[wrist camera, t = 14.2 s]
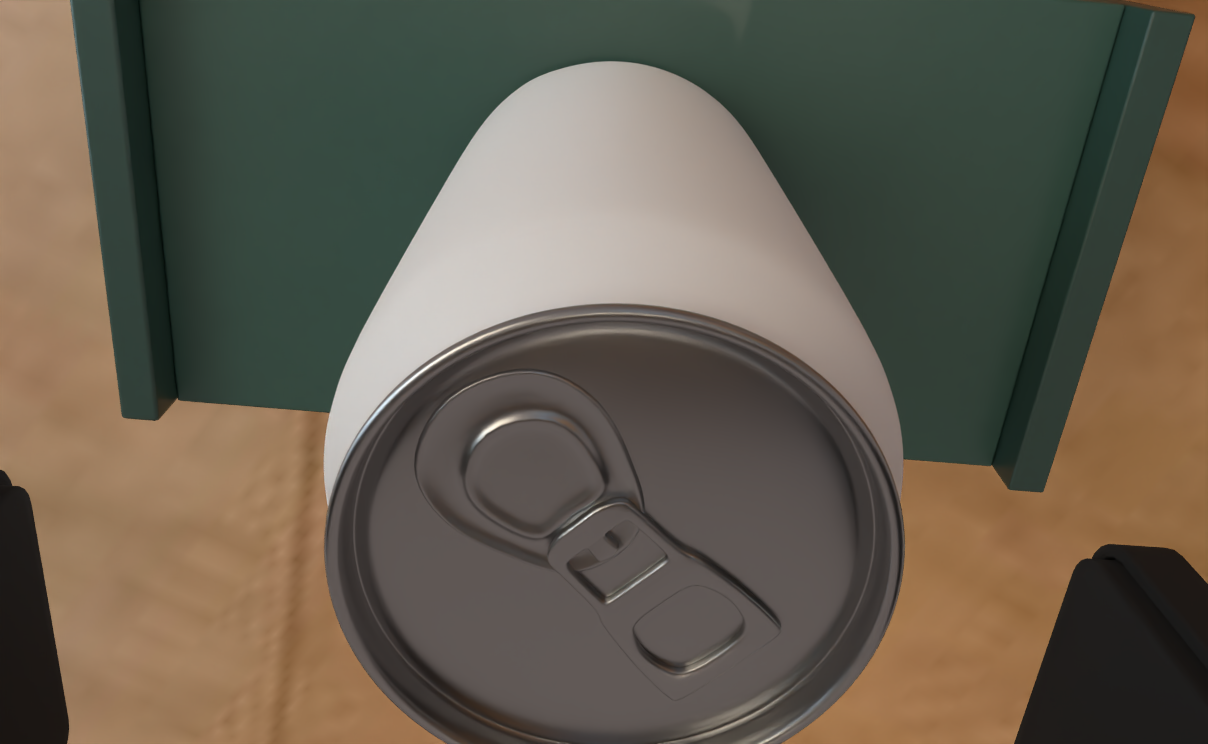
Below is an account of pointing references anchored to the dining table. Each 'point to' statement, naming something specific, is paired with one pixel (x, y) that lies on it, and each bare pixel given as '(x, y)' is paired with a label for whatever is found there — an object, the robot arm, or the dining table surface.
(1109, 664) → the robot arm
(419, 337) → the can
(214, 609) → the dining table surface
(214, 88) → the step rack
